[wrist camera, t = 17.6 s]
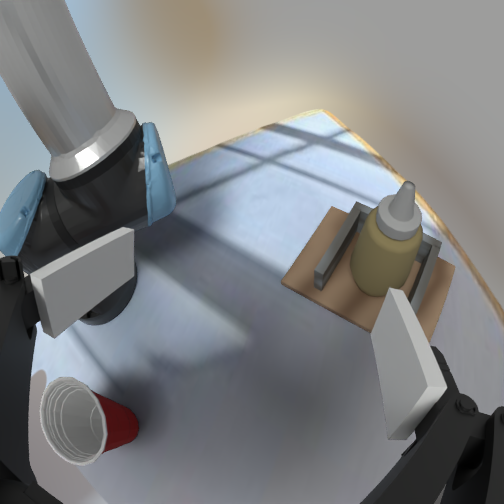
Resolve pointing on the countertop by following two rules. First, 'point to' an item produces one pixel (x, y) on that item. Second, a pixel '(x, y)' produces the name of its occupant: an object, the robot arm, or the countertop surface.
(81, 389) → the plastic cup
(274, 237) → the countertop surface
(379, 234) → the squeeze bottle
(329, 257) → the u rest
